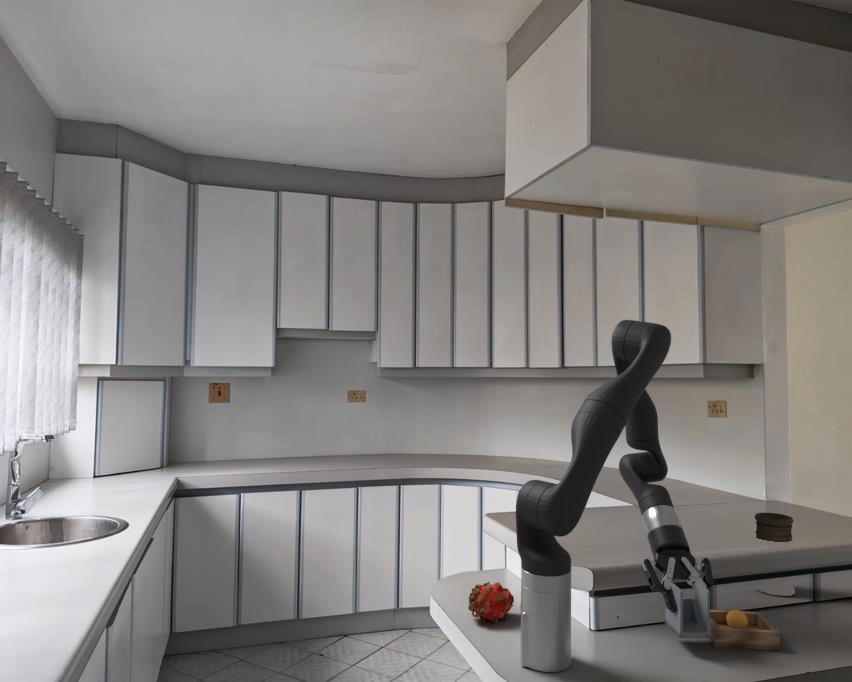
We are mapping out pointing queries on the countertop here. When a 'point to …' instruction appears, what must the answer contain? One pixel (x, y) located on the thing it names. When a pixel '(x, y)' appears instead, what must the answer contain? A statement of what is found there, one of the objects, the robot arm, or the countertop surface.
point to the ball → (737, 619)
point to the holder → (690, 613)
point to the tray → (743, 632)
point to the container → (774, 527)
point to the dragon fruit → (490, 601)
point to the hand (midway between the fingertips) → (690, 610)
